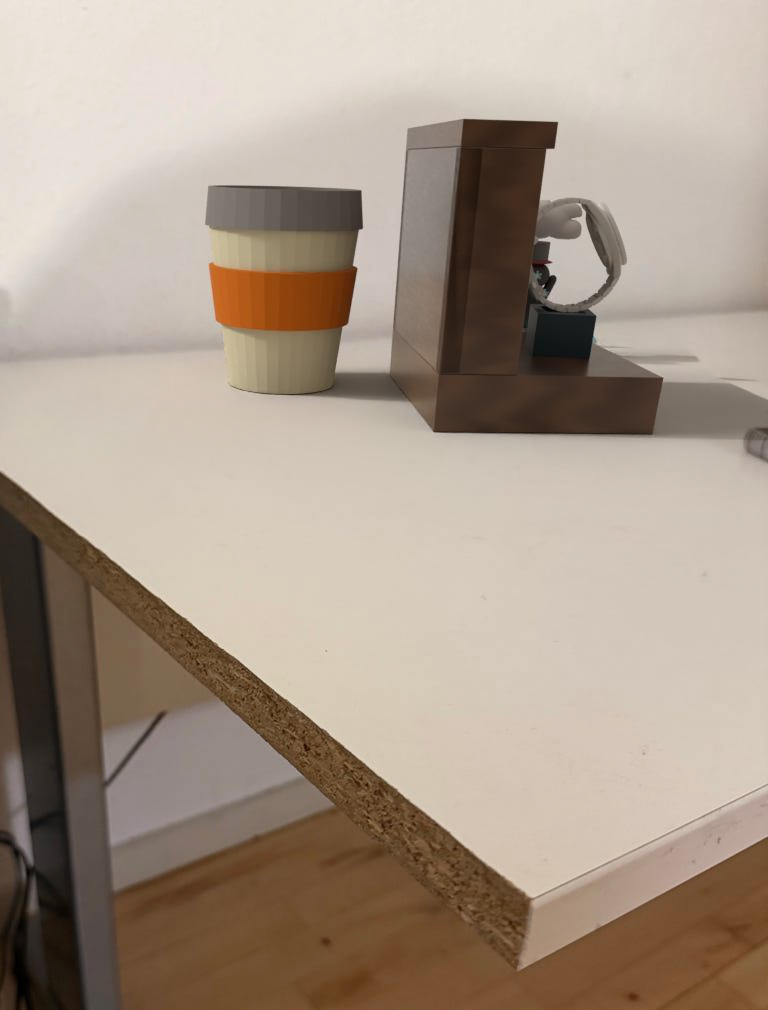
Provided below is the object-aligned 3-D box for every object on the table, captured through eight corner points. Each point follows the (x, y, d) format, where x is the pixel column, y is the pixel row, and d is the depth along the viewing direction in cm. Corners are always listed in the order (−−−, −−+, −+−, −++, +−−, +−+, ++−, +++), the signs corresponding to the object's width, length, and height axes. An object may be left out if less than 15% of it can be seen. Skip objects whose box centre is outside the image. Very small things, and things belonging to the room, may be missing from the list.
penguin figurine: (591, 348, 101) (617, 190, 94) (599, 367, 91) (629, 192, 84) (403, 337, 104) (415, 183, 97) (392, 353, 95) (404, 185, 88)
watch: (615, 359, 72) (644, 201, 67) (508, 354, 73) (529, 197, 68) (603, 347, 77) (628, 198, 72) (503, 342, 78) (521, 195, 73)
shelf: (563, 377, 86) (601, 134, 77) (652, 434, 68) (714, 126, 60) (389, 375, 85) (407, 128, 76) (433, 431, 67) (463, 118, 59)
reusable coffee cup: (378, 394, 78) (392, 192, 71) (231, 402, 74) (231, 189, 67) (321, 365, 88) (328, 187, 81) (190, 371, 84) (186, 184, 77)
